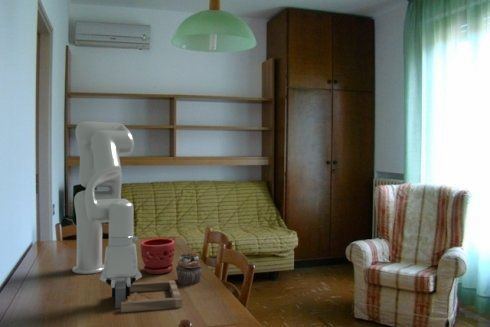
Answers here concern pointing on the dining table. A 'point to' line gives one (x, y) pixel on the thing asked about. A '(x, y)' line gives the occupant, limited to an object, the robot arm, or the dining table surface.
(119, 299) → the block
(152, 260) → the plant pot
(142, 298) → the shard
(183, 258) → the cupcake
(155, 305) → the walnut frame
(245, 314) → the dining table surface
